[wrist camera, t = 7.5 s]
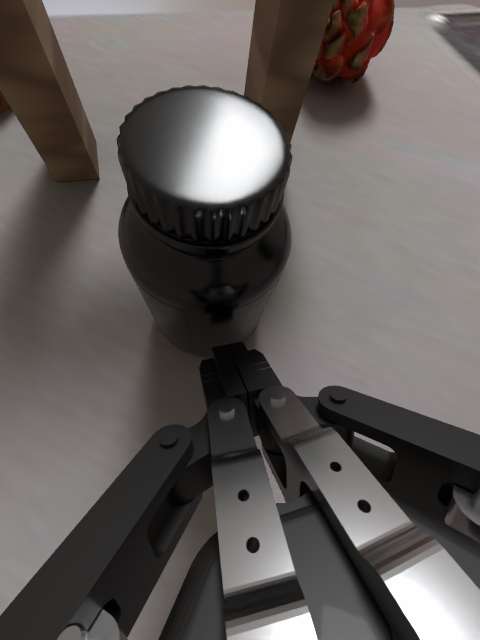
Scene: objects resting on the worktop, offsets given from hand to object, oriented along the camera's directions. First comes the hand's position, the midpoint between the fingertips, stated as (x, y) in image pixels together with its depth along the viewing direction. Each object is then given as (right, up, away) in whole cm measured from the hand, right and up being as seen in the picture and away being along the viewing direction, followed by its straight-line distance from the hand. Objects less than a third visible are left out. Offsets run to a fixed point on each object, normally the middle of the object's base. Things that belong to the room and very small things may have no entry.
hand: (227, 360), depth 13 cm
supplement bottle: (-2, +3, +6) cm, 6 cm away
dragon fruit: (+10, +29, +17) cm, 35 cm away
